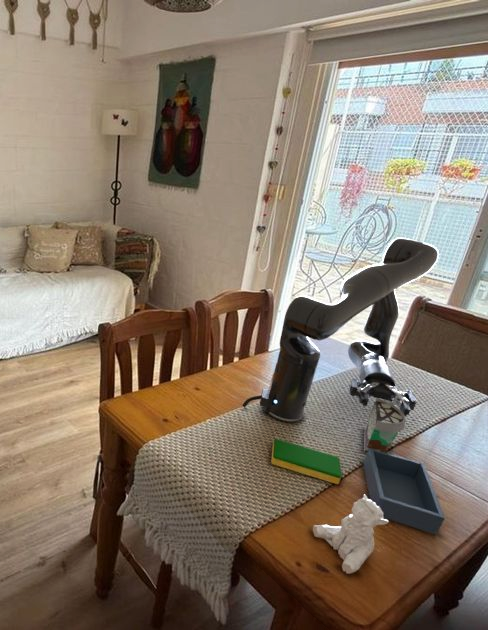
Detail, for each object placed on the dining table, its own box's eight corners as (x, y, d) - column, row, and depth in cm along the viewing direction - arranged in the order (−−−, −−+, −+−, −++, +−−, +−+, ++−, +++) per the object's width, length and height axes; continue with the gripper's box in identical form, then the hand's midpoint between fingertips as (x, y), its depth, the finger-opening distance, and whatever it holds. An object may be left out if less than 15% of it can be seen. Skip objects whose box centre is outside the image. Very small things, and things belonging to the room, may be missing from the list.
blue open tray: (372, 514, 90) (380, 498, 88) (362, 462, 103) (368, 447, 101) (436, 534, 85) (445, 518, 84) (417, 478, 99) (424, 463, 97)
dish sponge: (272, 445, 108) (274, 437, 107) (336, 464, 102) (339, 456, 101) (271, 464, 102) (273, 456, 101) (338, 485, 96) (341, 476, 96)
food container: (394, 466, 103) (409, 432, 98) (364, 455, 105) (377, 422, 101) (392, 437, 112) (405, 405, 108) (364, 428, 115) (376, 396, 111)
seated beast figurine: (308, 531, 85) (325, 484, 80) (345, 523, 87) (364, 478, 82) (347, 576, 77) (368, 528, 72) (386, 567, 79) (410, 519, 74)
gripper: (350, 359, 125) (357, 388, 111) (410, 372, 119) (425, 403, 106) (343, 382, 128) (348, 412, 114) (401, 395, 122) (414, 428, 109)
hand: (385, 408), depth 110 cm, fingers open, 8 cm apart
